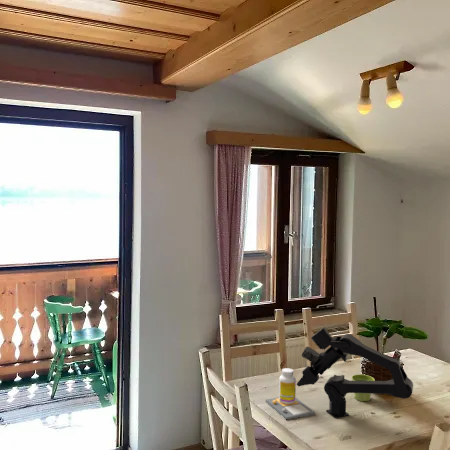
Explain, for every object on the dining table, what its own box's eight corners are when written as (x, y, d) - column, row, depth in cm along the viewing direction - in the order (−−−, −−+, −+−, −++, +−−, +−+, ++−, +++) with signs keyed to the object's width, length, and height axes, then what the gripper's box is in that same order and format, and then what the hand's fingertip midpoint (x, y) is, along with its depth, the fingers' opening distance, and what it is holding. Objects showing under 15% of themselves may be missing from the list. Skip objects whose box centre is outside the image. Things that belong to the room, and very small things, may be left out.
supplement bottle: (297, 404, 198) (297, 373, 197) (280, 405, 197) (281, 373, 196) (293, 397, 204) (293, 367, 203) (277, 397, 204) (277, 367, 203)
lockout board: (314, 414, 191) (314, 409, 191) (286, 420, 187) (286, 414, 186) (292, 397, 207) (292, 392, 207) (265, 401, 202) (265, 397, 202)
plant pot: (377, 397, 208) (377, 377, 207) (369, 405, 200) (370, 384, 199) (355, 392, 213) (356, 372, 212) (347, 399, 205) (348, 379, 205)
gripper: (320, 335, 203) (293, 358, 208) (308, 348, 186) (279, 372, 191) (339, 357, 200) (311, 379, 206) (328, 372, 183) (299, 396, 189)
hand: (300, 381), depth 198 cm, fingers open, 9 cm apart
